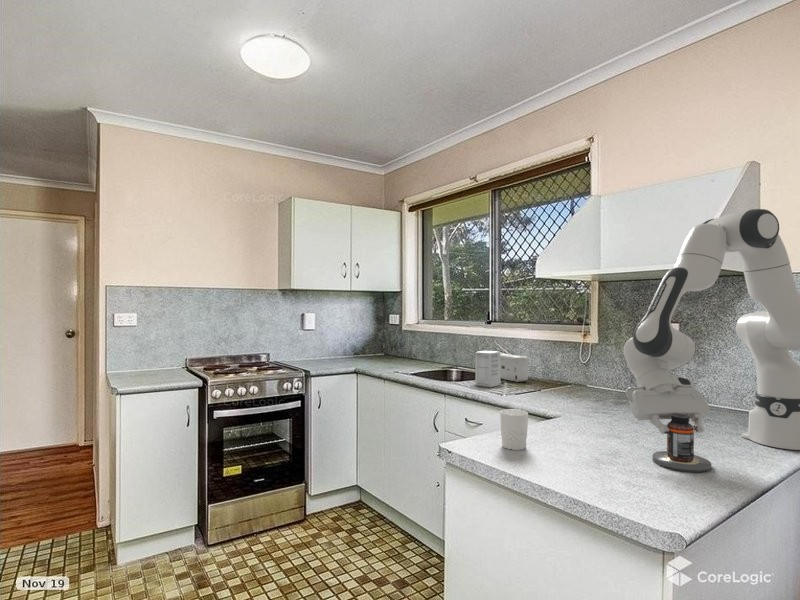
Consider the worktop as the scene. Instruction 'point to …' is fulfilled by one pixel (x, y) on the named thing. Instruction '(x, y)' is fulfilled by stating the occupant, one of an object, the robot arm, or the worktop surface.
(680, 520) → the worktop surface
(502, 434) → the white cup
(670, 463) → the grey flat disc
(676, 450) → the supplement bottle
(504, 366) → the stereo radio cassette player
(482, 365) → the supplement box
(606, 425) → the worktop surface
